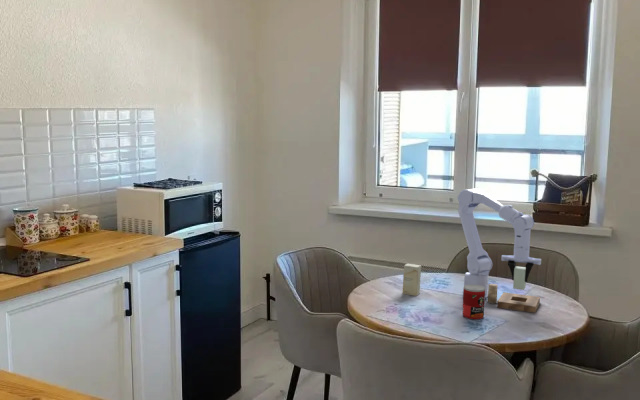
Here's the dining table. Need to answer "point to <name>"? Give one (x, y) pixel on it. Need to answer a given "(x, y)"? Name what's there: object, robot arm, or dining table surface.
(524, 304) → the socket block
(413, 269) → the skincare box
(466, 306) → the canned food
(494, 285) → the birch dowel
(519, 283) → the square peg
